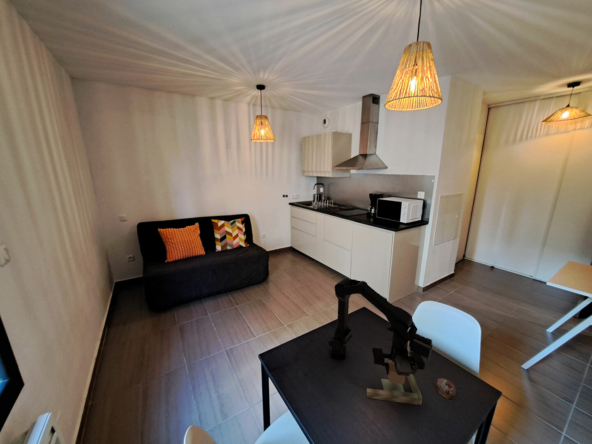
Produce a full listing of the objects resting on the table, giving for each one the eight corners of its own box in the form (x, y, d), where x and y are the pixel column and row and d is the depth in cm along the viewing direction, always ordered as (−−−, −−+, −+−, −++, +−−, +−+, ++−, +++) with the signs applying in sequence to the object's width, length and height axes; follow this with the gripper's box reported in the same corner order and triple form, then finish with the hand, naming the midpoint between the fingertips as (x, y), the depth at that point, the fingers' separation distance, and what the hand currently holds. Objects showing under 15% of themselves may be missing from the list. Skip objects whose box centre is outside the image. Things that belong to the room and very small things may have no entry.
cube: (389, 382, 87) (390, 371, 86) (385, 369, 92) (387, 359, 91) (404, 384, 86) (405, 373, 85) (399, 371, 92) (401, 360, 90)
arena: (367, 397, 87) (367, 390, 87) (361, 360, 104) (361, 354, 103) (421, 404, 85) (422, 398, 84) (406, 365, 101) (407, 359, 100)
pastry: (448, 403, 86) (450, 393, 84) (430, 385, 92) (431, 376, 91) (461, 394, 89) (463, 384, 87) (442, 378, 95) (444, 369, 94)
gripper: (378, 357, 79) (374, 391, 83) (435, 364, 76) (428, 398, 80) (372, 334, 89) (369, 365, 93) (422, 339, 87) (416, 370, 91)
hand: (394, 374), depth 89 cm, fingers closed on cube, 5 cm apart
